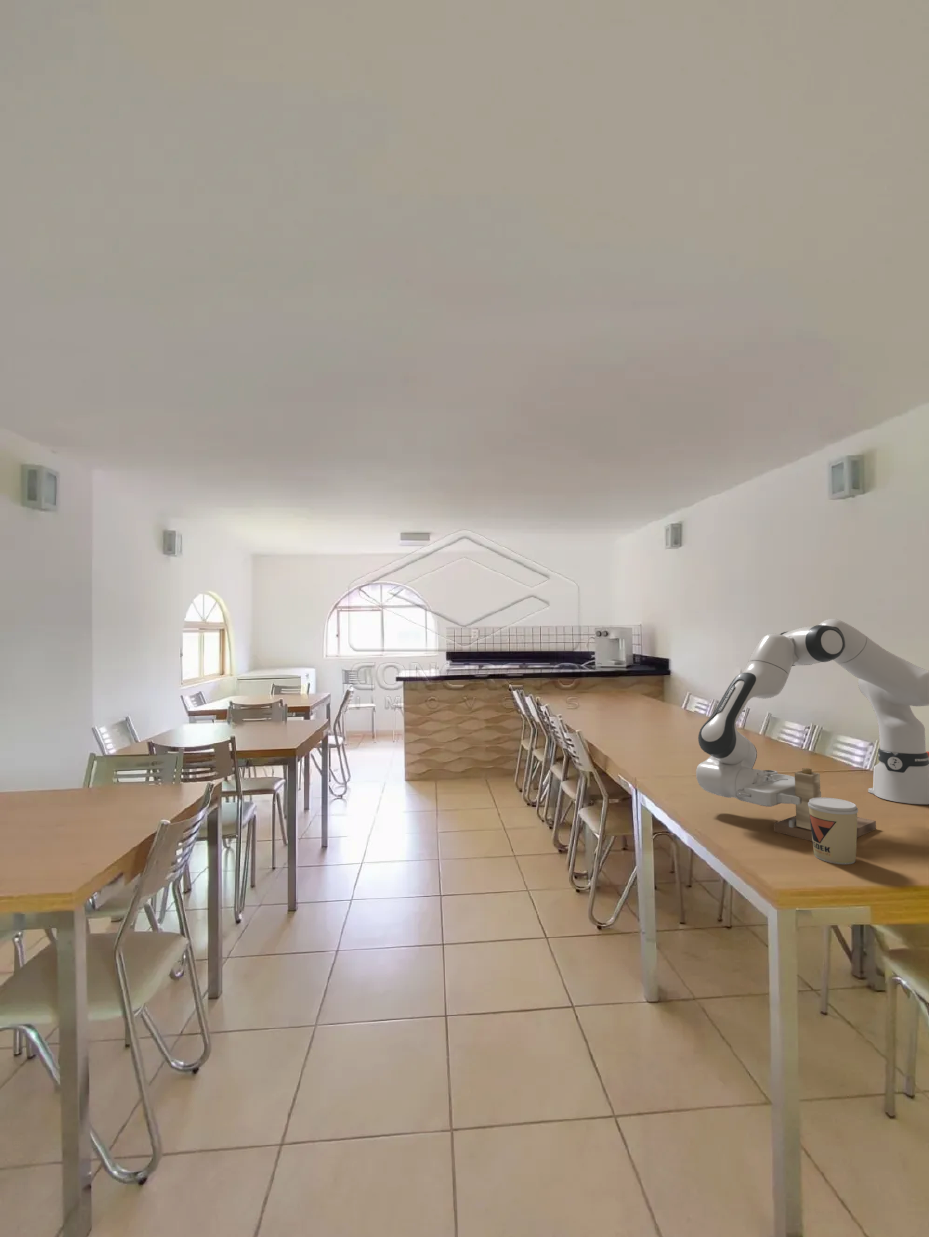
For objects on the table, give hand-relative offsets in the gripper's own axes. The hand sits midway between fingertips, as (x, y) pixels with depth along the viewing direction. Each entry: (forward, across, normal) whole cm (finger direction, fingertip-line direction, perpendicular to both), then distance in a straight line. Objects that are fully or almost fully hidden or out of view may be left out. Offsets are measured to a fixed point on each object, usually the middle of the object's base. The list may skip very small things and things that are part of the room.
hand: (810, 797), depth 142 cm
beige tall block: (0, 0, +7) cm, 7 cm away
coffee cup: (+10, -10, +10) cm, 17 cm away
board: (0, +8, +10) cm, 12 cm away
